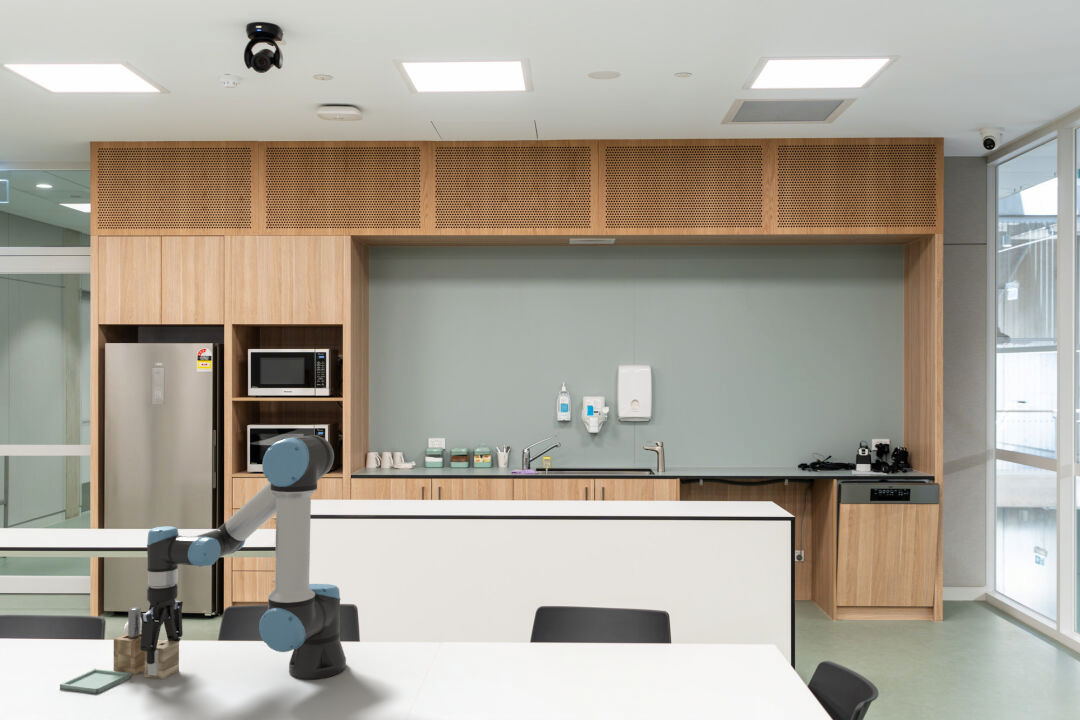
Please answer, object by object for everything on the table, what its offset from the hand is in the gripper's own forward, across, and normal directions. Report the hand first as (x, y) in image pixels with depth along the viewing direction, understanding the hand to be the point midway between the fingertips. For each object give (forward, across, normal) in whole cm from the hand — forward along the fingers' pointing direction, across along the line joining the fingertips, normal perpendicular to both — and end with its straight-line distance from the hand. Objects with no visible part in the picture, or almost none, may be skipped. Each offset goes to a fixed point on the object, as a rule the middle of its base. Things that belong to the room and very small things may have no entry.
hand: (161, 670), depth 224 cm
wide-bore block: (+1, -1, -10) cm, 10 cm away
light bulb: (+1, -10, -17) cm, 20 cm away
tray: (+1, +10, -12) cm, 16 cm away
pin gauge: (-1, -1, -10) cm, 10 cm away
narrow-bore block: (+1, 0, 0) cm, 1 cm away
